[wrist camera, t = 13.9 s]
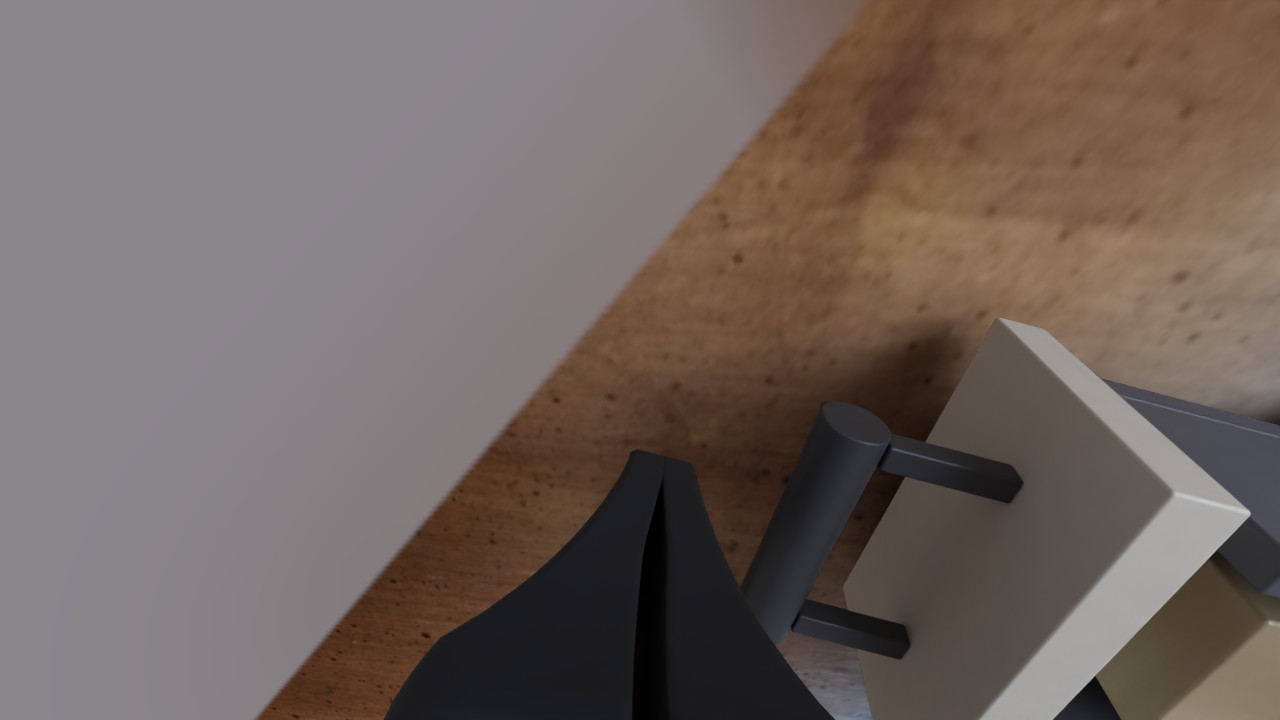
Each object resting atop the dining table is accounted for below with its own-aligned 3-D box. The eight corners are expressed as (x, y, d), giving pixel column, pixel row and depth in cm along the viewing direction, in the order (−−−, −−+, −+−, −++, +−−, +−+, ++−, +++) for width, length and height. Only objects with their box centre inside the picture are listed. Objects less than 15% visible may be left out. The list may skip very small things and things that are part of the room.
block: (1186, 629, 16) (1314, 790, 13) (1044, 592, 16) (1132, 743, 13) (1296, 522, 14) (1481, 677, 11) (1134, 480, 14) (1268, 621, 11)
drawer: (712, 552, 19) (709, 770, 13) (826, 271, 14) (894, 418, 9) (1202, 680, 19) (1407, 950, 13) (1471, 440, 14) (1954, 696, 9)
